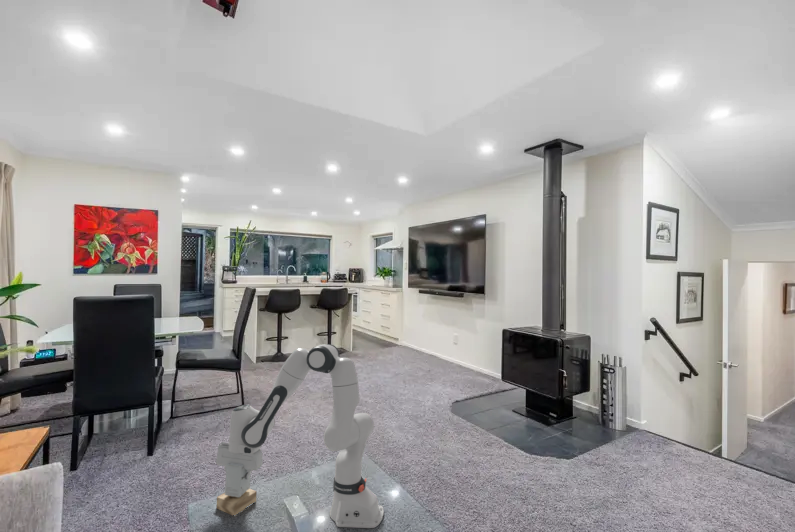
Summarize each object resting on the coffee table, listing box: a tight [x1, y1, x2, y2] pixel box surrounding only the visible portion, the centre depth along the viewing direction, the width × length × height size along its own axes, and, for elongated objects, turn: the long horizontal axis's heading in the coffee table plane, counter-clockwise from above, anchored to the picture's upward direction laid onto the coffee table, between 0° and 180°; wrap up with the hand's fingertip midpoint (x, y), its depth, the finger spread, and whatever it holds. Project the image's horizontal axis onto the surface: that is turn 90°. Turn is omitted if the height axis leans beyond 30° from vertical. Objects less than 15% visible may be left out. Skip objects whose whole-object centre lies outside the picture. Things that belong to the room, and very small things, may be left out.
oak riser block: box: [216, 488, 257, 516], centre depth 156 cm, size 11×11×5 cm
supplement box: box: [224, 463, 252, 497], centre depth 157 cm, size 7×7×13 cm
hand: (238, 477), depth 157 cm, fingers closed on supplement box, 7 cm apart
